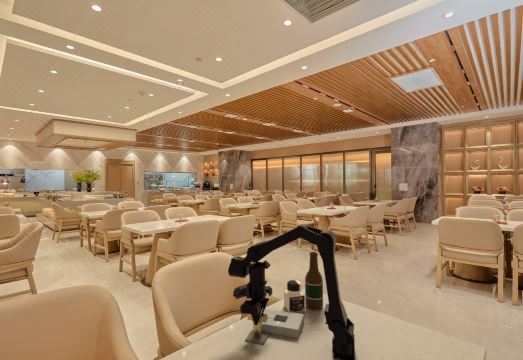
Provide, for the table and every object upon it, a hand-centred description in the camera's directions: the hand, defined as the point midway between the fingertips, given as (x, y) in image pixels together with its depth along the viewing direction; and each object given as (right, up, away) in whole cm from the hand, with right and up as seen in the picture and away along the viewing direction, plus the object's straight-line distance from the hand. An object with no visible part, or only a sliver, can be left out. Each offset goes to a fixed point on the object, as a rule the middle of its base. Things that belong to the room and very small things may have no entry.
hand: (257, 322), depth 100 cm
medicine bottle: (+16, -6, +22) cm, 28 cm away
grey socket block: (+9, -5, +8) cm, 13 cm away
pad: (0, -5, 0) cm, 5 cm away
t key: (0, -4, 0) cm, 4 cm away
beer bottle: (+25, -5, +24) cm, 35 cm away
